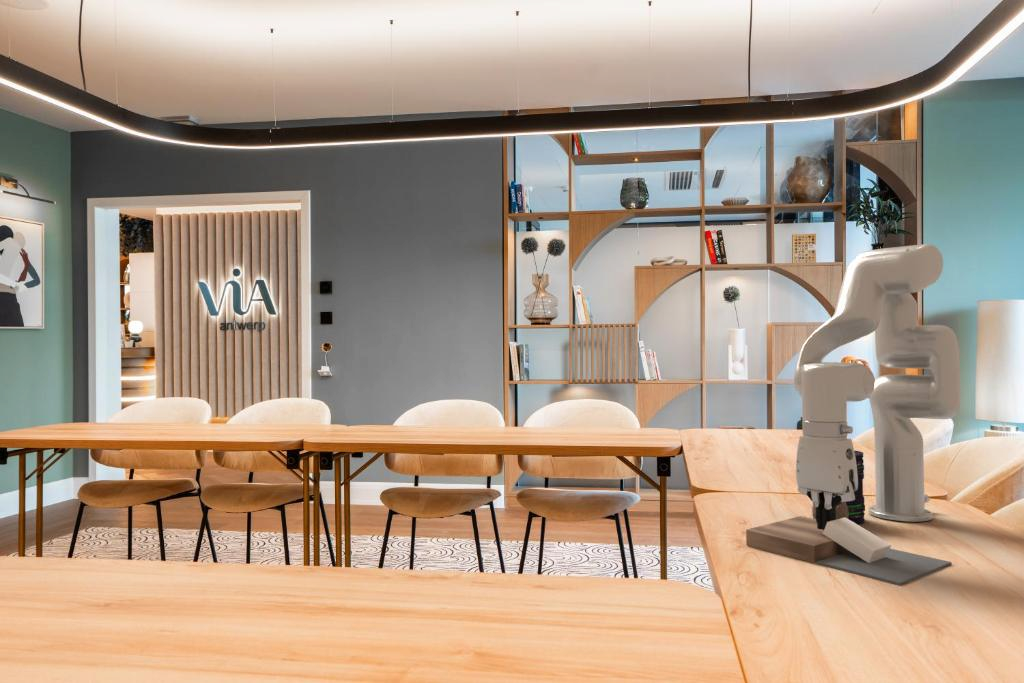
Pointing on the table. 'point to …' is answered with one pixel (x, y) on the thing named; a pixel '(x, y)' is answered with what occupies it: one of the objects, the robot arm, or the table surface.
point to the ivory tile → (857, 539)
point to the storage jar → (858, 494)
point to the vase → (840, 511)
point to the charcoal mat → (887, 566)
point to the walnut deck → (794, 539)
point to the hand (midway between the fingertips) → (826, 528)
